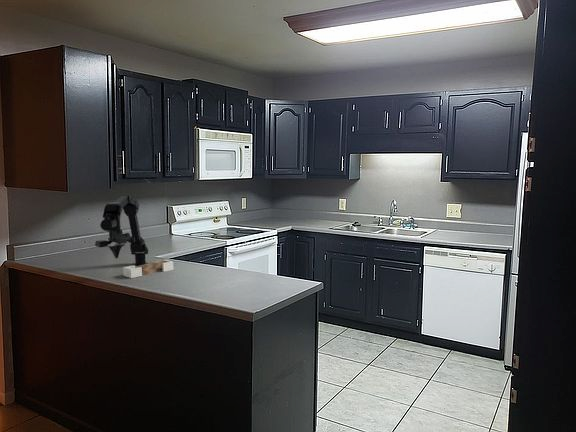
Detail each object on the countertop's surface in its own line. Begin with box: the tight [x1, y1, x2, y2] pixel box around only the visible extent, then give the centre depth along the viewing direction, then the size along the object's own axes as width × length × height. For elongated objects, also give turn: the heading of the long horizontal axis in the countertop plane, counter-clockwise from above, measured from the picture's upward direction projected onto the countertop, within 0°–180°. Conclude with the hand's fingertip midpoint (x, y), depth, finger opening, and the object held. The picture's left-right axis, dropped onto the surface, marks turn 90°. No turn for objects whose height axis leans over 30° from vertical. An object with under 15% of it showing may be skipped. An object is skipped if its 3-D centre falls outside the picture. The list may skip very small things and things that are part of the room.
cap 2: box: [155, 259, 174, 272], centre depth 258 cm, size 8×6×4 cm
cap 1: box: [122, 264, 143, 279], centre depth 244 cm, size 8×6×4 cm
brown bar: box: [138, 259, 167, 276], centre depth 253 cm, size 16×4×5 cm, turn 144°
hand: (116, 258), depth 237 cm, fingers closed
